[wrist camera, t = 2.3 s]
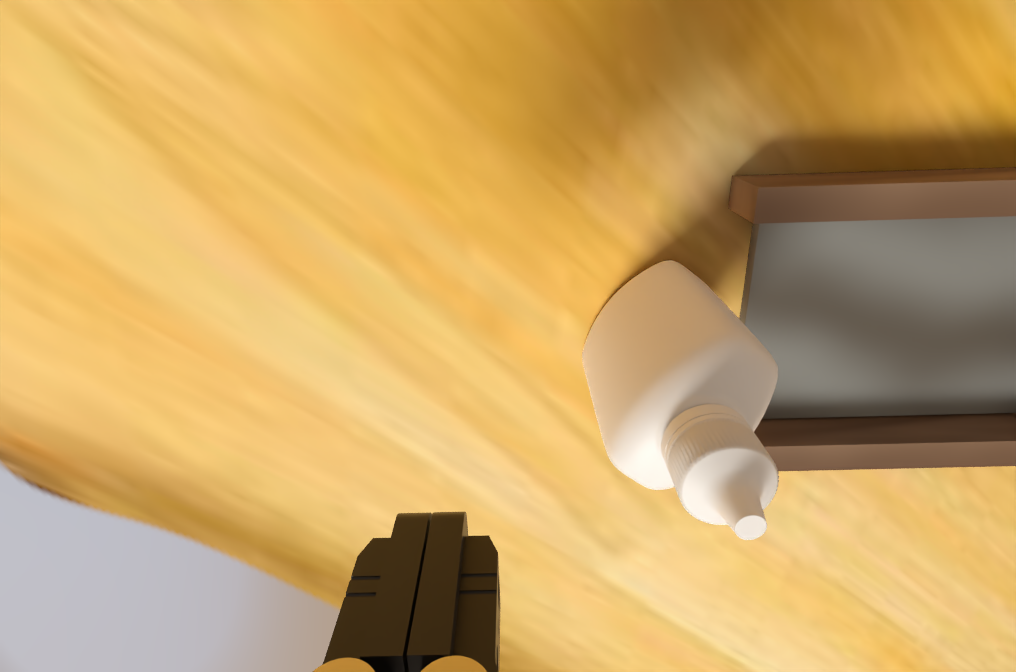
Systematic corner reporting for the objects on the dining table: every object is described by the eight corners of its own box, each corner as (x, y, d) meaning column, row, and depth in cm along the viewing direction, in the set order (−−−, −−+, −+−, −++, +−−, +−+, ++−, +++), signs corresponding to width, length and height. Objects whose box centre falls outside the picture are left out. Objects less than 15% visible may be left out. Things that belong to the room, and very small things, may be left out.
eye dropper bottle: (722, 339, 24) (897, 556, 13) (595, 389, 25) (661, 629, 14) (691, 245, 23) (860, 404, 12) (556, 302, 24) (596, 497, 13)
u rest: (732, 175, 22) (758, 187, 19) (1124, 163, 21) (1197, 174, 19) (700, 437, 26) (718, 472, 24) (1023, 430, 26) (1072, 464, 24)
